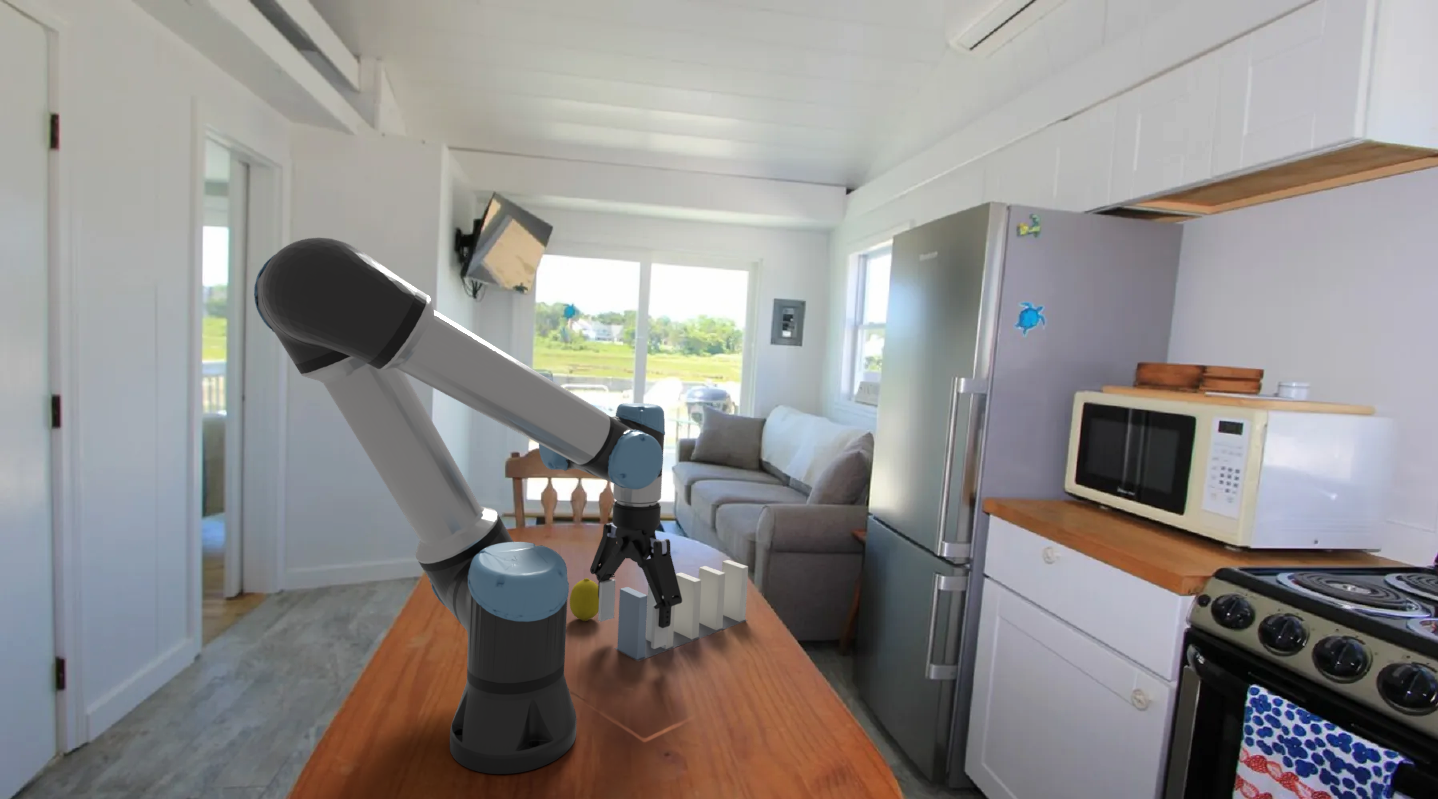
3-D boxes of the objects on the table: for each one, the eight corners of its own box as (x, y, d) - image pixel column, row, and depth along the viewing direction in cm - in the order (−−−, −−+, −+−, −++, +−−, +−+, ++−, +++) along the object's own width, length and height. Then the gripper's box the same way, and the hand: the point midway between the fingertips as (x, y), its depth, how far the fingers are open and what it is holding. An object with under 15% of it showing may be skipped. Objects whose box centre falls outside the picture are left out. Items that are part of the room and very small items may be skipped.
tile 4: (716, 630, 122) (719, 574, 122) (696, 621, 126) (699, 567, 125) (722, 627, 123) (725, 573, 123) (702, 619, 127) (705, 565, 126)
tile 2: (665, 649, 114) (668, 589, 113) (645, 639, 117) (648, 581, 116) (672, 646, 115) (675, 587, 114) (653, 636, 118) (655, 579, 118)
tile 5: (739, 621, 127) (742, 568, 126) (719, 613, 130) (722, 561, 129) (745, 619, 128) (748, 566, 127) (725, 611, 131) (728, 559, 131)
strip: (637, 663, 109) (638, 661, 109) (614, 650, 113) (614, 648, 113) (747, 622, 128) (747, 620, 128) (724, 612, 132) (724, 610, 132)
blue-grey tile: (637, 659, 109) (639, 597, 109) (617, 648, 113) (619, 588, 112) (644, 656, 111) (647, 595, 110) (625, 646, 114) (627, 586, 113)
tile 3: (691, 639, 118) (694, 581, 117) (672, 630, 121) (674, 574, 121) (698, 636, 119) (701, 580, 118) (678, 627, 123) (681, 572, 122)
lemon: (606, 622, 124) (608, 579, 124) (581, 630, 120) (582, 585, 120) (588, 613, 128) (589, 571, 127) (562, 621, 124) (564, 577, 123)
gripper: (709, 513, 104) (702, 651, 106) (608, 485, 121) (603, 604, 123) (672, 520, 99) (665, 666, 100) (572, 489, 116) (567, 614, 117)
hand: (631, 632), depth 111 cm, fingers open, 13 cm apart
